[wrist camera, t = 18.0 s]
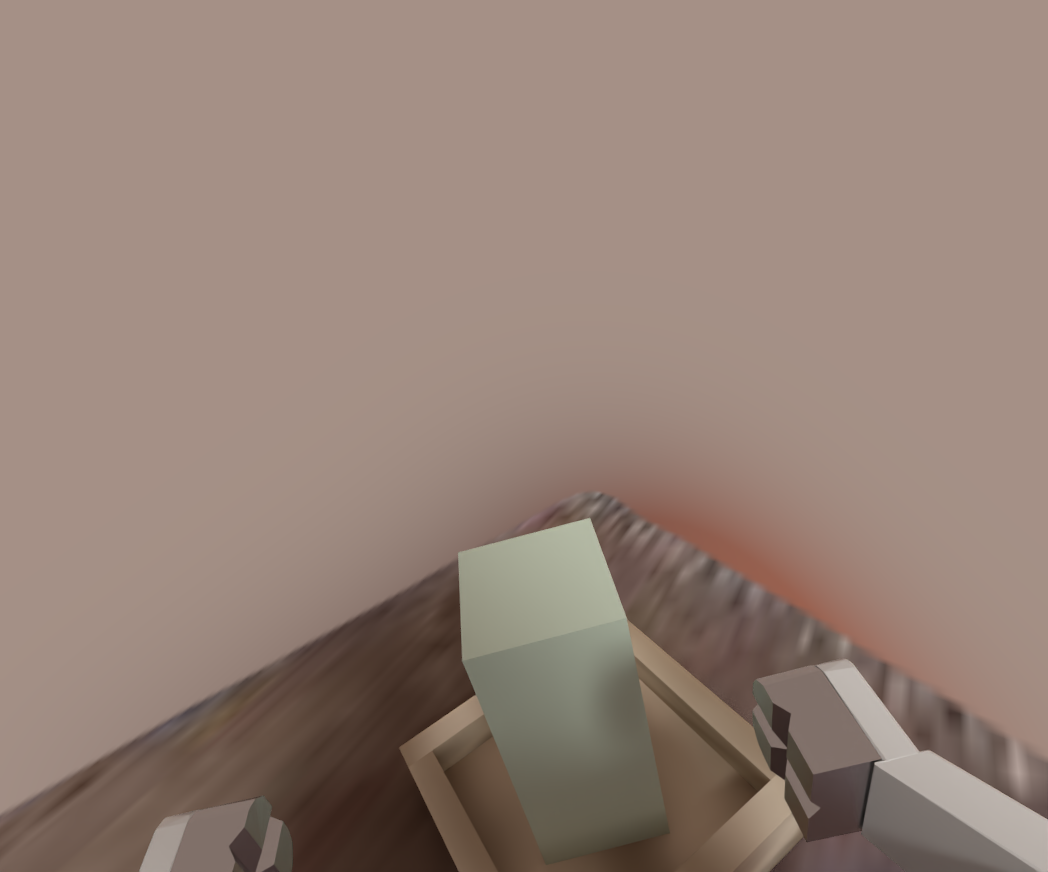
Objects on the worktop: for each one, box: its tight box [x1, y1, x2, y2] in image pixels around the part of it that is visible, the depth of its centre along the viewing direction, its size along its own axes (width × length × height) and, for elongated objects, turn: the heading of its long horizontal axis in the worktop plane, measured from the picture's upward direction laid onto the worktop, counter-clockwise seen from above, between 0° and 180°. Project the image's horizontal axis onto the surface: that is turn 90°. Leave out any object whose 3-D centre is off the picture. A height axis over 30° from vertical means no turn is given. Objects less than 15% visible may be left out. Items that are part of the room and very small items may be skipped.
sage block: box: [458, 518, 670, 865], centre depth 23 cm, size 5×5×12 cm
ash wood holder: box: [399, 620, 804, 872], centre depth 25 cm, size 12×12×2 cm
